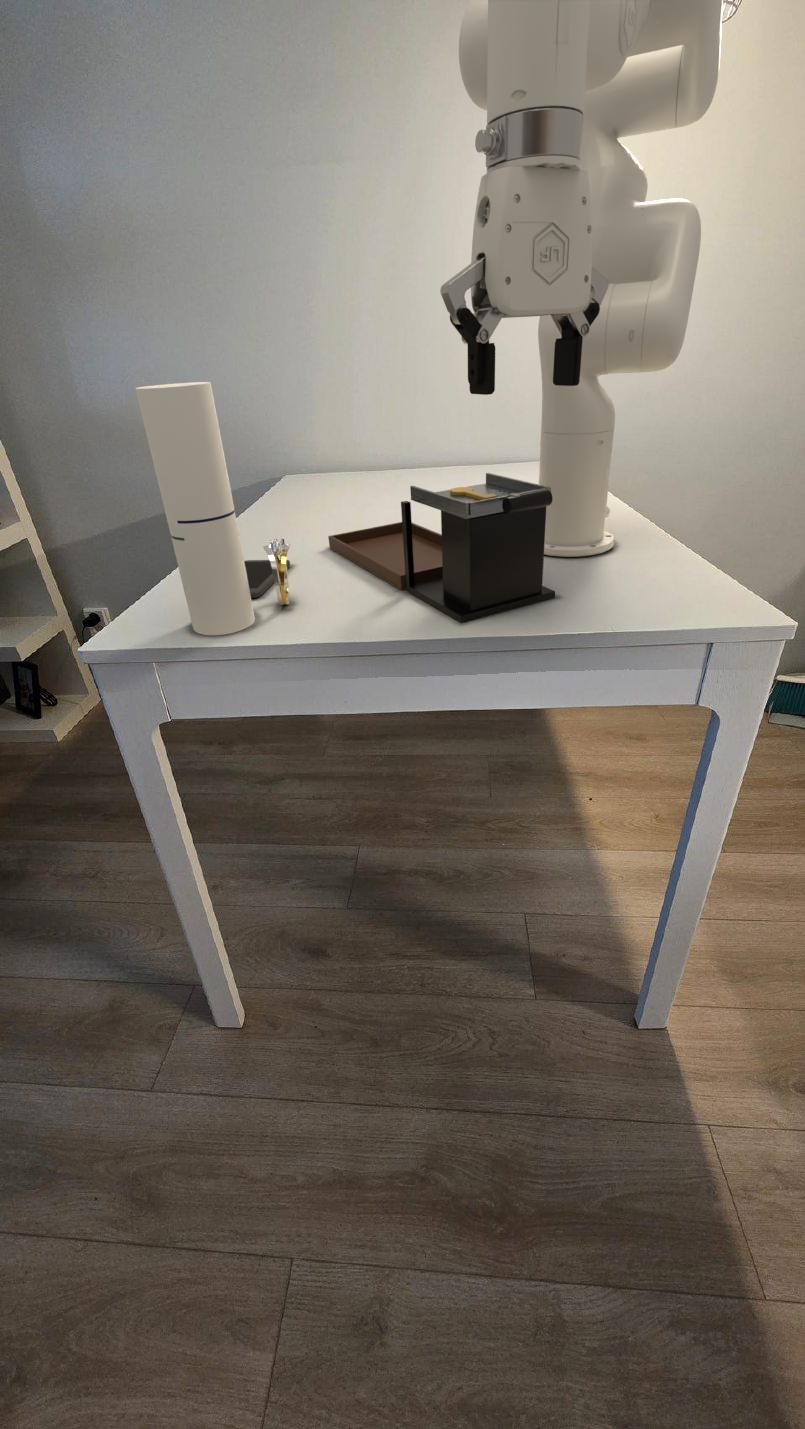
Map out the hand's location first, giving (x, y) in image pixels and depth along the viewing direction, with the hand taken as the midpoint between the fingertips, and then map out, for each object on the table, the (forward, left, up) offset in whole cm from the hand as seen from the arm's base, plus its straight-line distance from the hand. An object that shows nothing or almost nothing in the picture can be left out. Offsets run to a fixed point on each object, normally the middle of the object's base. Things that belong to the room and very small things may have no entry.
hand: (525, 389), depth 60 cm
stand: (-4, -8, -23) cm, 24 cm away
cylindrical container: (+18, -29, -23) cm, 41 cm away
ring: (+10, -27, -23) cm, 37 cm away
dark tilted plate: (-3, -6, -12) cm, 13 cm away
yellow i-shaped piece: (-4, -9, -11) cm, 15 cm away
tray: (-12, -25, -23) cm, 36 cm away
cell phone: (+6, -38, -23) cm, 45 cm away
